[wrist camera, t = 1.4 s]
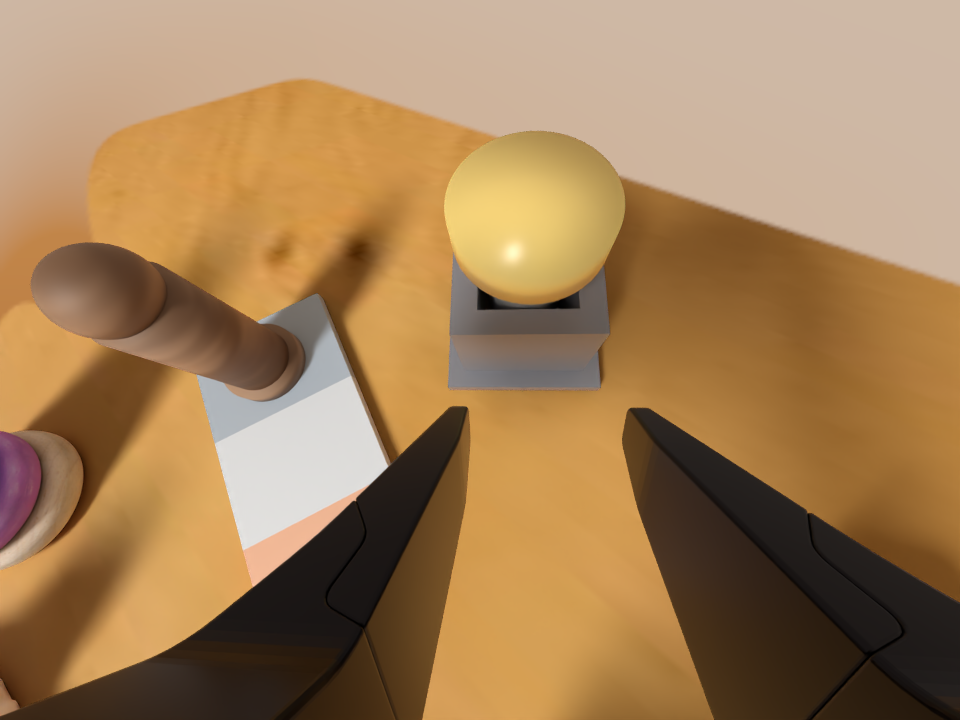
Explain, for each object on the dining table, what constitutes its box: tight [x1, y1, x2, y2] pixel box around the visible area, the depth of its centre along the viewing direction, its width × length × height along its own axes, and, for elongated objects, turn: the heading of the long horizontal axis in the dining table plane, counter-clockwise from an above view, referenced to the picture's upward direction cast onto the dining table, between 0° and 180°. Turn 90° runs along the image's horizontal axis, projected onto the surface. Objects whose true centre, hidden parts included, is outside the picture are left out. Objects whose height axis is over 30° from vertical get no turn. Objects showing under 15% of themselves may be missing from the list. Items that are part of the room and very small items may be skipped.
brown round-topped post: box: [31, 243, 306, 402], centre depth 18 cm, size 5×5×12 cm
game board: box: [197, 293, 391, 587], centre depth 22 cm, size 20×9×1 cm, turn 27°
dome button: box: [444, 131, 625, 310], centre depth 17 cm, size 6×6×7 cm
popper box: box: [448, 252, 610, 390], centre depth 20 cm, size 9×9×7 cm
